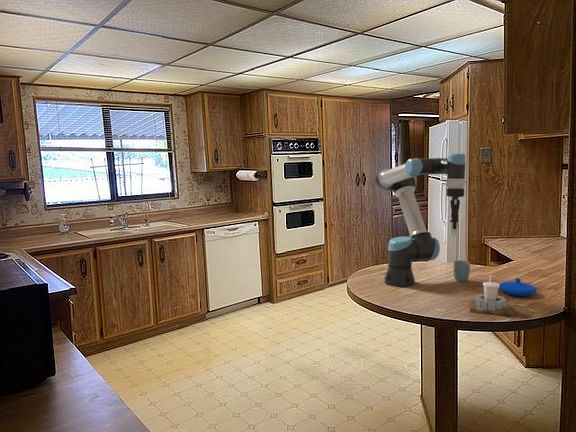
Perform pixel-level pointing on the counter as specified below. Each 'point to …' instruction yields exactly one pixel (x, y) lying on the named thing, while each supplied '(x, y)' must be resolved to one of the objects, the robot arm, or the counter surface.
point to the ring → (490, 303)
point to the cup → (461, 270)
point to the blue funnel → (517, 288)
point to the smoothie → (490, 290)
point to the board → (504, 312)
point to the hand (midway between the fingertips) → (453, 233)
